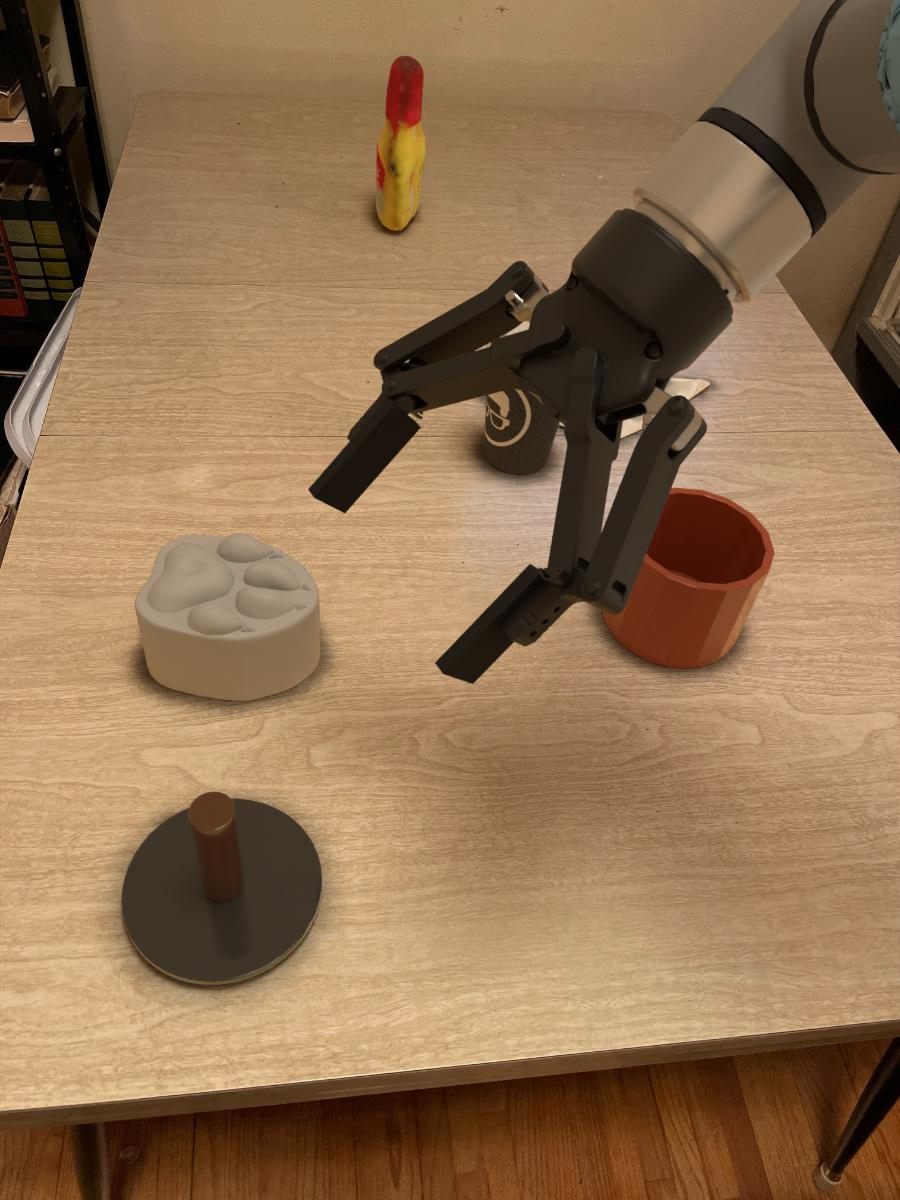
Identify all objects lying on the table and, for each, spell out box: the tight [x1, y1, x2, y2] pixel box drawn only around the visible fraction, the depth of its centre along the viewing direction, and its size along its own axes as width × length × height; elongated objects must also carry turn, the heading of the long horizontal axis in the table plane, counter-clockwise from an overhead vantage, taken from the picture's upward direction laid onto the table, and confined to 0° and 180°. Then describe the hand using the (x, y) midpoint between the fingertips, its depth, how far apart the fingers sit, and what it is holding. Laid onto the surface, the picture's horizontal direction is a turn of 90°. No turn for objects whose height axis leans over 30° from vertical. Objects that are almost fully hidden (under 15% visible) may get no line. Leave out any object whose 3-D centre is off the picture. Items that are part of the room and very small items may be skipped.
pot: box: [601, 487, 776, 669], centre depth 80 cm, size 12×12×10 cm
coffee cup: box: [483, 321, 560, 476], centre depth 92 cm, size 10×10×15 cm
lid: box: [121, 791, 323, 986], centre depth 59 cm, size 13×13×10 cm
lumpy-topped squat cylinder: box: [134, 532, 321, 702], centre depth 74 cm, size 10×13×9 cm
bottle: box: [375, 55, 427, 232], centre depth 123 cm, size 12×6×20 cm, turn 173°
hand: (385, 582), depth 50 cm, fingers open, 13 cm apart
